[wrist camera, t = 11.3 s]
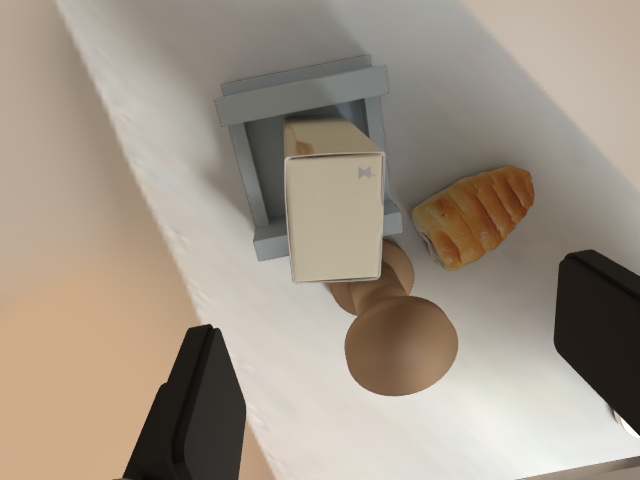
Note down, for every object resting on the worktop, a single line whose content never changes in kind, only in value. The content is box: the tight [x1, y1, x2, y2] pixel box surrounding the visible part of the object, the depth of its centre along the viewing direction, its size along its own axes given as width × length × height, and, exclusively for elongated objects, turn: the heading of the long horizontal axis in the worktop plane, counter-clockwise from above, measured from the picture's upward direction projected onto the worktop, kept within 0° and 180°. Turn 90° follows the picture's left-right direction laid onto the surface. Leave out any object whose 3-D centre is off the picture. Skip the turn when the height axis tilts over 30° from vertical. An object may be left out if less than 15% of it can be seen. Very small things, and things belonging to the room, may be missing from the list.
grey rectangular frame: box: [214, 55, 403, 261], centre depth 27 cm, size 10×12×5 cm
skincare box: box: [284, 115, 385, 284], centre depth 22 cm, size 6×4×12 cm
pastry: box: [411, 166, 534, 270], centre depth 30 cm, size 9×7×4 cm
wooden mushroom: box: [330, 239, 458, 396], centre depth 29 cm, size 7×7×10 cm
